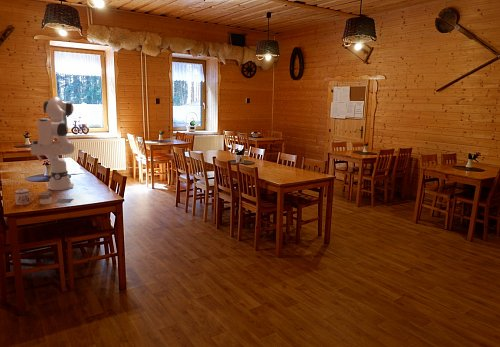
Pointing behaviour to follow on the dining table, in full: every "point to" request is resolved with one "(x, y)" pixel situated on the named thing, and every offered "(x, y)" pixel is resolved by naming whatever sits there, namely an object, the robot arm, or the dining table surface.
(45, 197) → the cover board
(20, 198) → the teacup with lid
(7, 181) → the dining table surface
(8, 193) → the dining table surface
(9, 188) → the dining table surface
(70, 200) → the mat
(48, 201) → the bowl
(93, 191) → the dining table surface
